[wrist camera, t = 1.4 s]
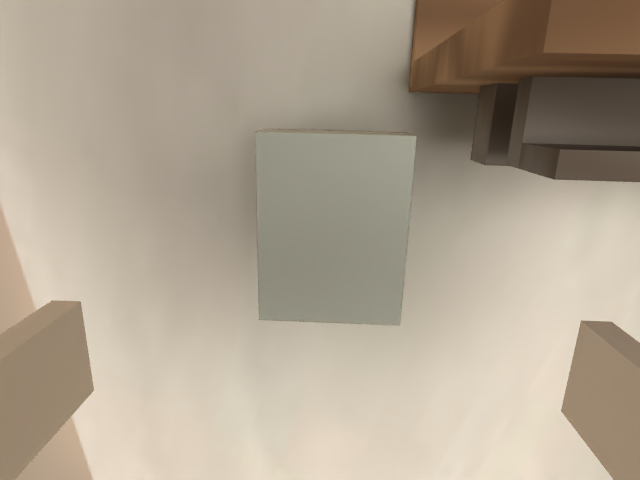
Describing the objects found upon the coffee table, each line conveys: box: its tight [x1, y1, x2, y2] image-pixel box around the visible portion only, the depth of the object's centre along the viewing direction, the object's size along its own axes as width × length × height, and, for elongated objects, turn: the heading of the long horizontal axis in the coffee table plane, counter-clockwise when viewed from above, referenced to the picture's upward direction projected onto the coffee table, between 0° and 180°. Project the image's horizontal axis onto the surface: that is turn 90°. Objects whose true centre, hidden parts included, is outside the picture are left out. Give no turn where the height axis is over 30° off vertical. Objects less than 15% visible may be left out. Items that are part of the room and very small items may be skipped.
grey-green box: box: [255, 129, 417, 325], centre depth 21 cm, size 9×6×9 cm
